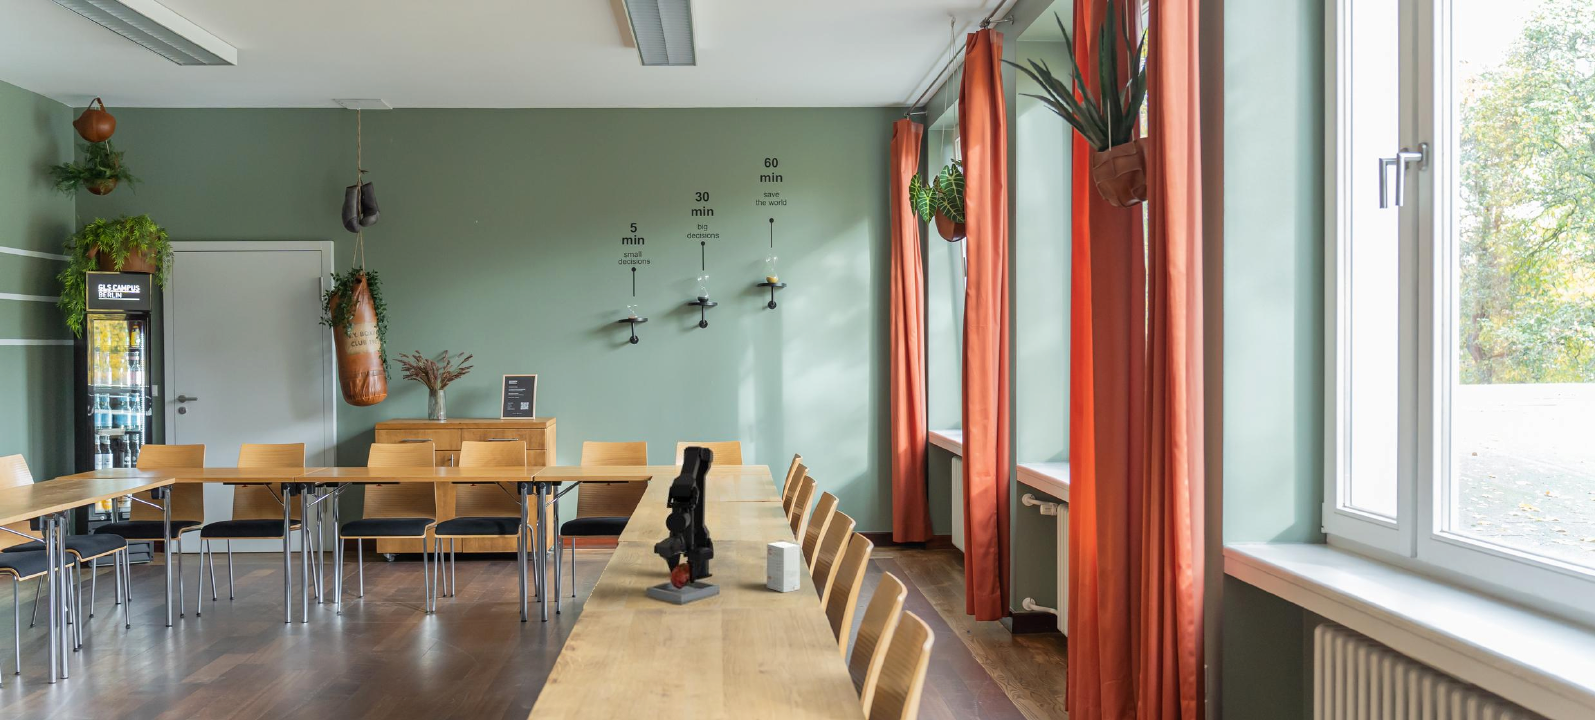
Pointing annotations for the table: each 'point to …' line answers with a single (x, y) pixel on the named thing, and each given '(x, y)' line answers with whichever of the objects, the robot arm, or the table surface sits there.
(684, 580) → the pomegranate
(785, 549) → the small box
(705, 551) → the robot arm
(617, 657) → the table surface
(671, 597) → the tray
